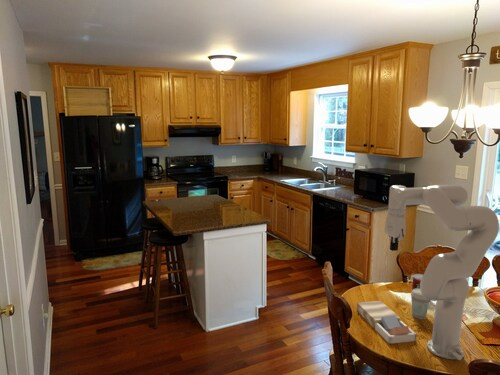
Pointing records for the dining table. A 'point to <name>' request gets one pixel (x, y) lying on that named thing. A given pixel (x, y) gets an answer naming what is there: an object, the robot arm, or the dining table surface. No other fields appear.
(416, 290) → the coffee cup
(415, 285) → the canned food
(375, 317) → the birch plate
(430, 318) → the dining table surface
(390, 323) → the tile slate
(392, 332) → the tile terracotta
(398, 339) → the box
